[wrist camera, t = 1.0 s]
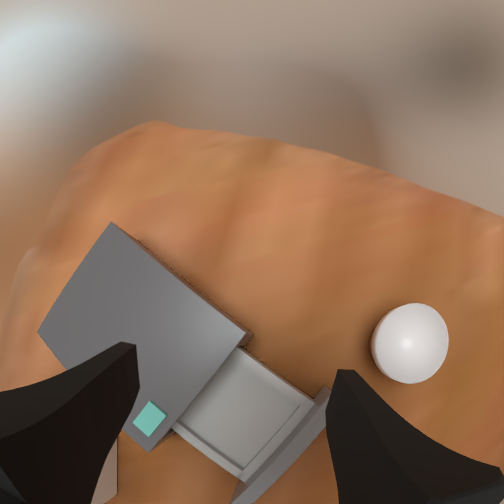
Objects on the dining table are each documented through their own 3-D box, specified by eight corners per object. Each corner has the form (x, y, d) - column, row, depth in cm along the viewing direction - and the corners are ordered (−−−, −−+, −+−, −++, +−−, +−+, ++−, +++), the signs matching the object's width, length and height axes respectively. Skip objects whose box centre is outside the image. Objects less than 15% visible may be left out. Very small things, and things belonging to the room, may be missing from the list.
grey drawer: (335, 392, 24) (344, 402, 20) (247, 492, 22) (241, 514, 18) (202, 294, 28) (187, 286, 23) (125, 395, 26) (102, 402, 22)
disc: (451, 331, 21) (460, 330, 19) (412, 394, 20) (421, 397, 18) (398, 291, 22) (405, 287, 21) (356, 355, 21) (361, 356, 20)
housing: (253, 333, 26) (245, 332, 21) (171, 435, 25) (146, 453, 19) (137, 240, 30) (109, 220, 24) (70, 334, 28) (34, 331, 23)
